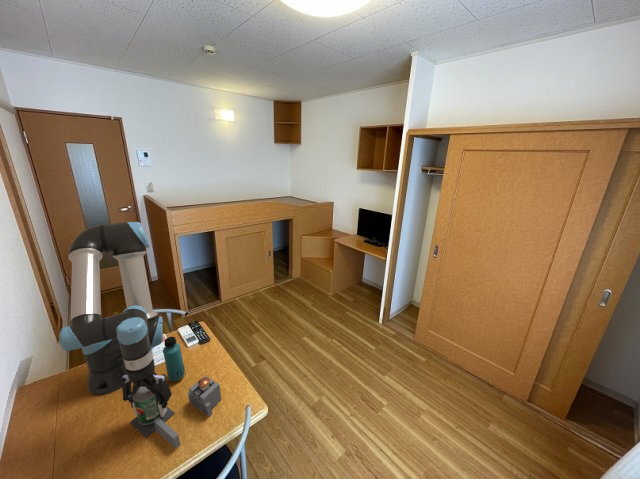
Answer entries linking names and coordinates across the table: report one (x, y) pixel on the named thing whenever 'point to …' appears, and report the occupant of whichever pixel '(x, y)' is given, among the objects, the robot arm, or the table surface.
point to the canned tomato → (146, 406)
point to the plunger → (204, 384)
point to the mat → (150, 428)
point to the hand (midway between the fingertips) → (151, 413)
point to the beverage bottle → (173, 359)
